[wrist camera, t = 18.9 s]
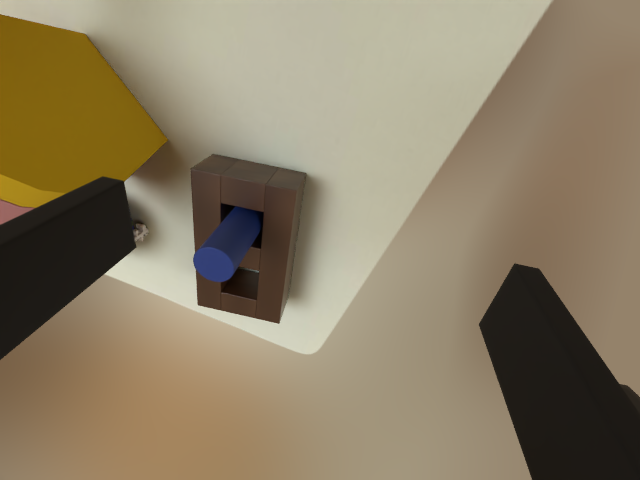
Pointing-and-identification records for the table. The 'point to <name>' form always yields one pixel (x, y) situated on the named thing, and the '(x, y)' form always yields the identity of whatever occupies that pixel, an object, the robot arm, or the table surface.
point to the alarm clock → (63, 117)
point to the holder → (270, 244)
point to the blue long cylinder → (228, 244)
